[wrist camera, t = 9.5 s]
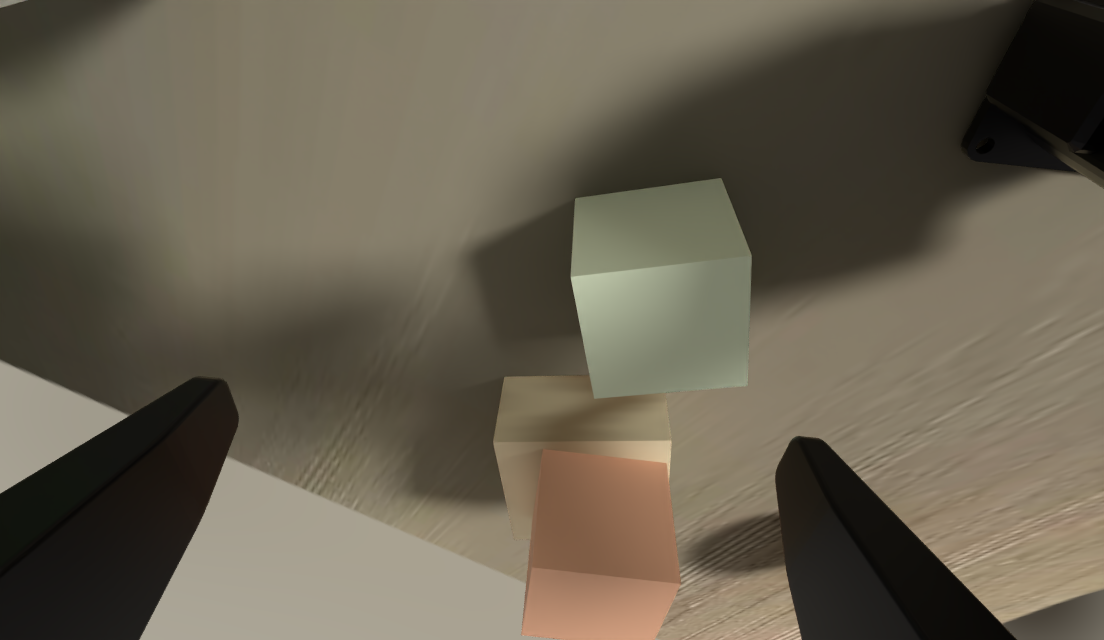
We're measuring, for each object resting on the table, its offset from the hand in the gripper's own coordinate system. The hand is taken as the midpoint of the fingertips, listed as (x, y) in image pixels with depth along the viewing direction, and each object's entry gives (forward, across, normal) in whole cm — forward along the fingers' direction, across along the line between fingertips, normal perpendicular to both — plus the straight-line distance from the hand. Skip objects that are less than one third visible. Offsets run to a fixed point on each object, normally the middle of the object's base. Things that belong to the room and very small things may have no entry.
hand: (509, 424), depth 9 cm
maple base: (+13, -3, +14) cm, 19 cm away
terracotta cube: (+9, -3, +14) cm, 17 cm away
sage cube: (+13, -4, +4) cm, 14 cm away
